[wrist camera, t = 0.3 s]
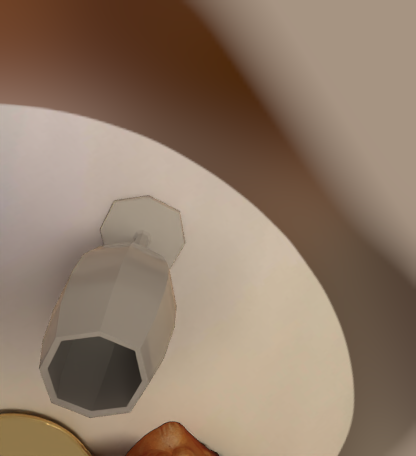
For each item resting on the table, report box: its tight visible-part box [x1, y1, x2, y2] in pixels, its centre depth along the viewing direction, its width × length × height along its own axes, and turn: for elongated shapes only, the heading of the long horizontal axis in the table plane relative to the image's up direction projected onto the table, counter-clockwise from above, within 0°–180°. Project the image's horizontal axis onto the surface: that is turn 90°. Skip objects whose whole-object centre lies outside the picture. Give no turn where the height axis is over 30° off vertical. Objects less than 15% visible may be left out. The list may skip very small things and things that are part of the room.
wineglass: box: [39, 196, 185, 418], centre depth 31 cm, size 9×9×21 cm
